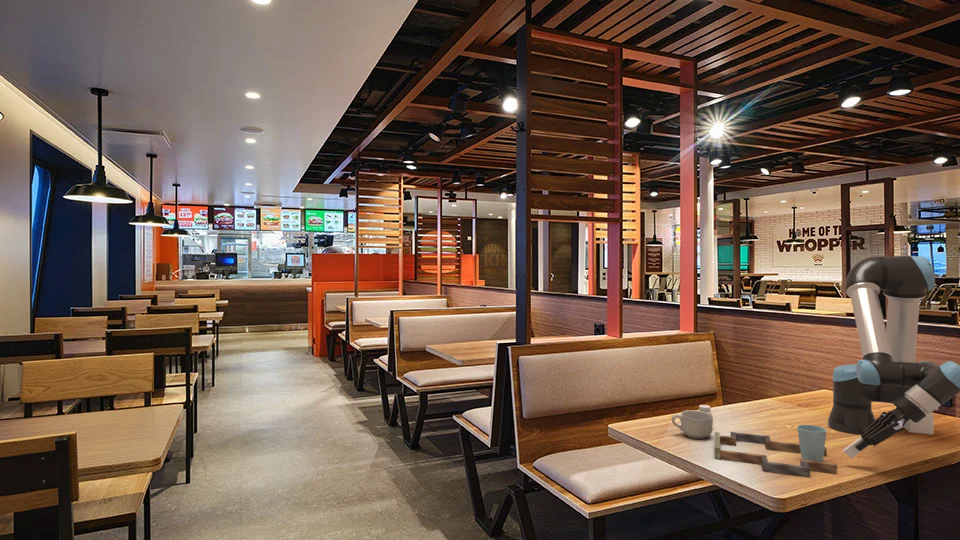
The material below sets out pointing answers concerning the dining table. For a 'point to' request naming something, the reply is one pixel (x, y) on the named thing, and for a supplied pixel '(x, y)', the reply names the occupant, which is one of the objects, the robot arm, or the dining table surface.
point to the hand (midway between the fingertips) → (847, 454)
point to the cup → (812, 442)
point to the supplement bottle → (705, 408)
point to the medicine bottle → (921, 425)
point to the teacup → (695, 423)
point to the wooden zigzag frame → (762, 459)
